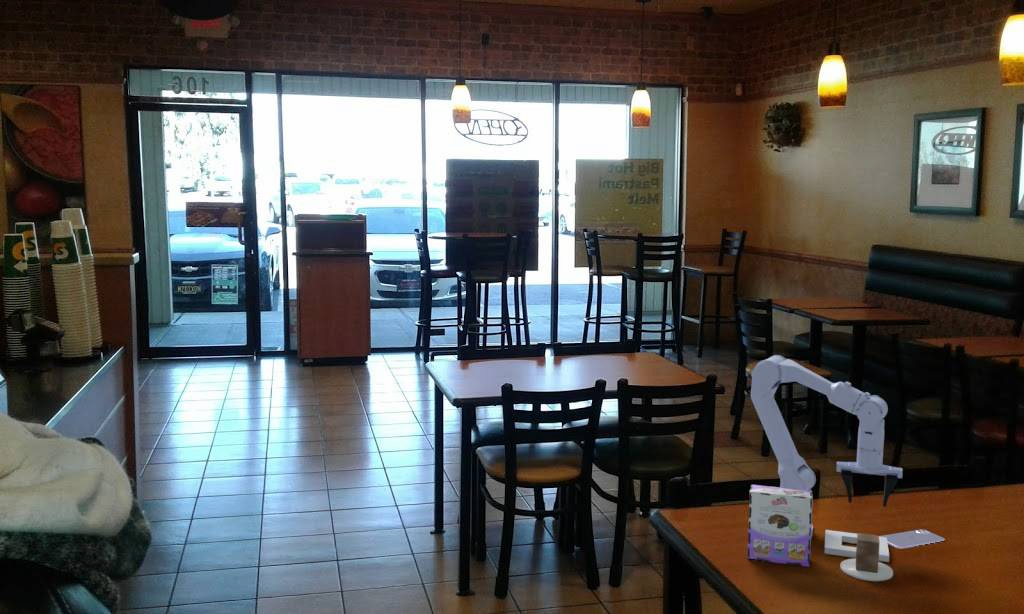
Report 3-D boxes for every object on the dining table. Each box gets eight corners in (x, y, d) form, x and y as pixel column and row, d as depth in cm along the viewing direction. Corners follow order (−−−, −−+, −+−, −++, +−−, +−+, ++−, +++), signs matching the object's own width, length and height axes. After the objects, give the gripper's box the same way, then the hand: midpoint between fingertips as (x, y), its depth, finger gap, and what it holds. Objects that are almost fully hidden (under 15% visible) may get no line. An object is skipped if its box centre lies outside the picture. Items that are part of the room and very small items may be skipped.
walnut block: (855, 570, 202) (857, 540, 201) (855, 562, 207) (857, 532, 206) (877, 573, 201) (879, 542, 200) (876, 565, 205) (878, 535, 204)
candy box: (809, 558, 210) (813, 489, 208) (809, 568, 205) (813, 497, 203) (748, 550, 215) (751, 482, 213) (746, 559, 209) (749, 490, 207)
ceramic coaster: (840, 576, 200) (840, 574, 200) (840, 558, 210) (840, 555, 210) (894, 584, 196) (894, 581, 196) (891, 565, 207) (891, 562, 207)
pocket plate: (824, 553, 213) (824, 547, 213) (825, 535, 224) (825, 529, 224) (888, 562, 208) (889, 555, 208) (886, 543, 220) (886, 537, 219)
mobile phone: (876, 535, 223) (923, 527, 228) (875, 539, 223) (923, 531, 228) (899, 546, 216) (947, 538, 221) (899, 550, 216) (947, 542, 221)
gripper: (837, 449, 214) (834, 504, 216) (904, 455, 209) (901, 512, 211) (837, 441, 221) (834, 495, 222) (902, 447, 216) (899, 502, 218)
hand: (867, 503), depth 217 cm, fingers open, 7 cm apart
